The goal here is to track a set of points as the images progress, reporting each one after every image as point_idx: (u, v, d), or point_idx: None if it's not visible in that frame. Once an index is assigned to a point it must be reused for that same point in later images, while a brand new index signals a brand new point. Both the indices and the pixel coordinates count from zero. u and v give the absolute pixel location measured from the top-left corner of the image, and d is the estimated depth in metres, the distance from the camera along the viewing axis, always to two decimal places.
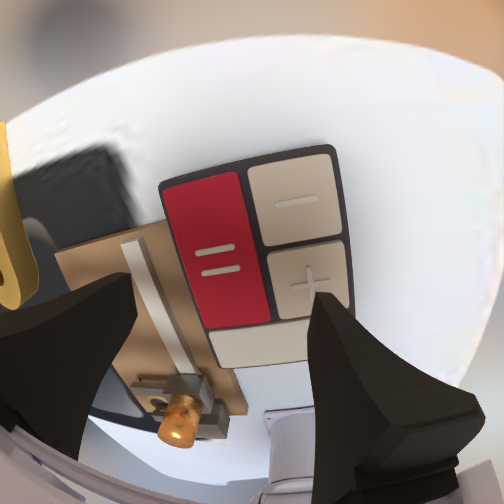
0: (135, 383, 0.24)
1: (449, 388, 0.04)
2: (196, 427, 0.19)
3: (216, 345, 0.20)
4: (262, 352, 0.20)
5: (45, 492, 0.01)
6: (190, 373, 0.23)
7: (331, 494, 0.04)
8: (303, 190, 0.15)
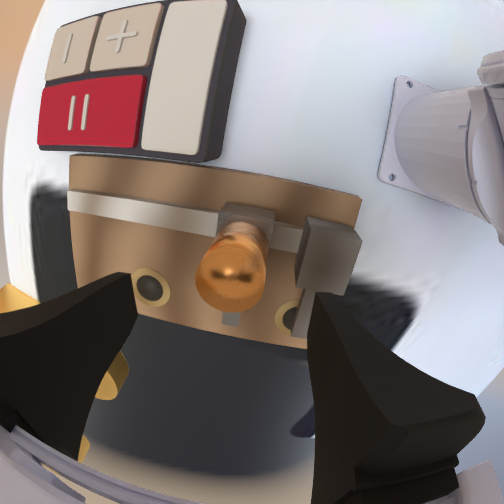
0: None
1: (449, 388, 0.04)
2: (244, 239, 0.13)
3: (158, 146, 0.15)
4: (183, 93, 0.13)
5: (45, 492, 0.01)
6: None
7: (331, 494, 0.04)
8: (65, 43, 0.12)
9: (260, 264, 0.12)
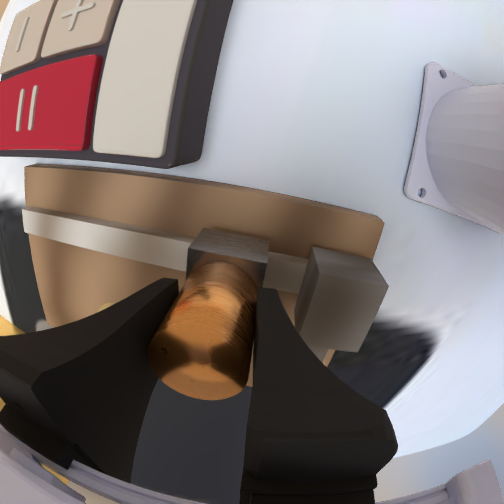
0: None
1: (357, 399, 0.04)
2: (219, 299, 0.08)
3: (112, 147, 0.10)
4: (145, 73, 0.09)
5: (45, 492, 0.01)
6: None
7: None
8: (20, 29, 0.07)
9: (242, 344, 0.07)
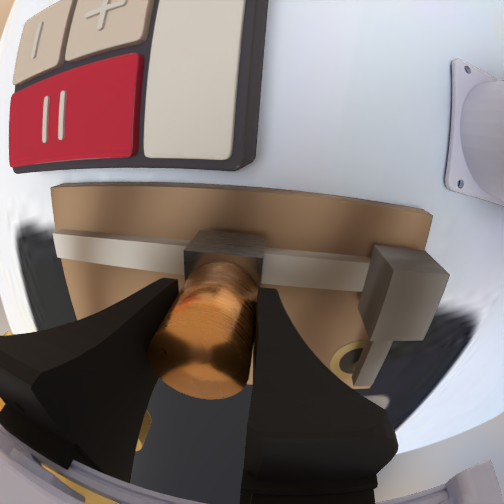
0: None
1: (357, 399, 0.04)
2: (214, 297, 0.08)
3: (169, 150, 0.10)
4: (201, 70, 0.09)
5: (45, 492, 0.01)
6: (269, 264, 0.13)
7: None
8: (34, 35, 0.08)
9: (239, 339, 0.07)
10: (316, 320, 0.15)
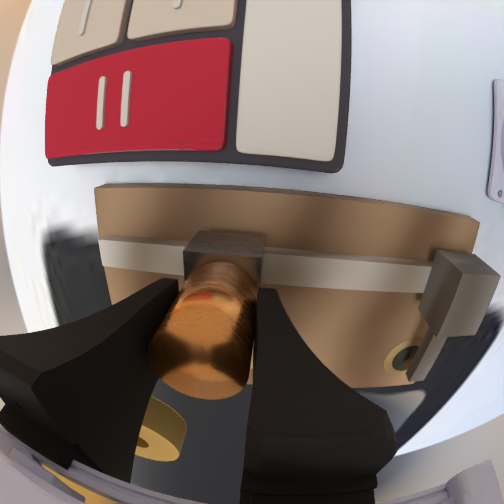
0: None
1: (357, 399, 0.04)
2: (214, 297, 0.08)
3: (268, 147, 0.10)
4: (304, 67, 0.08)
5: (45, 492, 0.01)
6: (347, 270, 0.13)
7: None
8: (80, 11, 0.07)
9: (239, 339, 0.07)
10: (378, 321, 0.15)
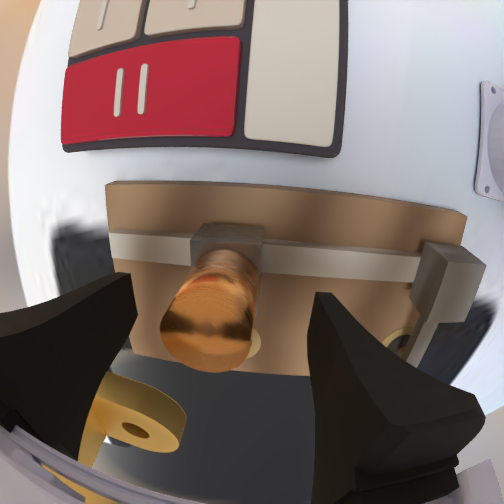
0: None
1: (449, 388, 0.04)
2: (219, 278, 0.09)
3: (273, 133, 0.11)
4: (305, 64, 0.09)
5: (45, 492, 0.01)
6: (340, 260, 0.14)
7: (331, 494, 0.04)
8: (98, 7, 0.08)
9: (242, 313, 0.08)
10: (371, 310, 0.16)
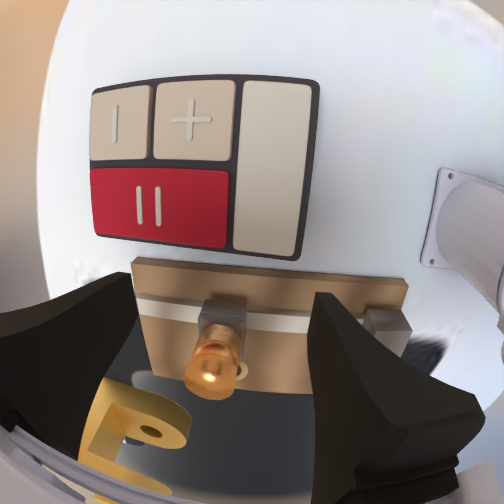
0: None
1: (449, 388, 0.04)
2: (216, 350, 0.16)
3: (253, 247, 0.17)
4: (276, 196, 0.15)
5: (45, 492, 0.01)
6: (301, 322, 0.20)
7: (331, 494, 0.04)
8: (109, 117, 0.14)
9: (229, 371, 0.15)
10: None
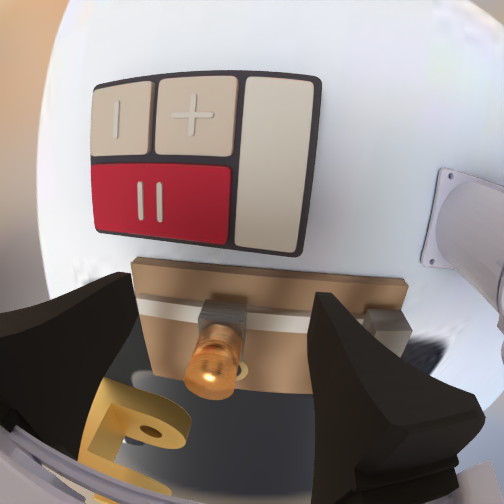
0: None
1: (449, 388, 0.04)
2: (216, 350, 0.16)
3: (254, 244, 0.17)
4: (278, 192, 0.15)
5: (45, 492, 0.01)
6: (301, 322, 0.20)
7: (331, 494, 0.04)
8: (111, 113, 0.14)
9: (229, 371, 0.15)
10: None
